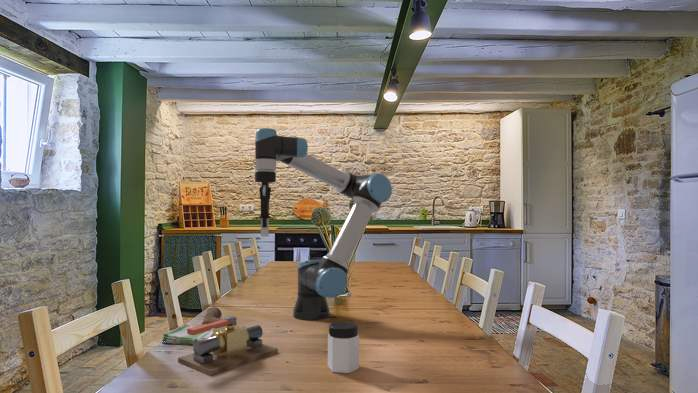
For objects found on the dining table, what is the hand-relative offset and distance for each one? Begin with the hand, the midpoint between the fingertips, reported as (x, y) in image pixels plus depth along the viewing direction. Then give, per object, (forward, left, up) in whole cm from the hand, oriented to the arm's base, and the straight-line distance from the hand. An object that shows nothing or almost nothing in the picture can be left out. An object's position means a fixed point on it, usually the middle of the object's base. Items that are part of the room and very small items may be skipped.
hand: (264, 236), depth 159 cm
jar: (-25, +38, -35) cm, 57 cm away
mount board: (+8, +26, -34) cm, 44 cm away
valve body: (+8, +26, -33) cm, 43 cm away
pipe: (+17, -9, -35) cm, 40 cm away
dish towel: (+20, +5, -35) cm, 41 cm away
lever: (+12, +31, -24) cm, 41 cm away
